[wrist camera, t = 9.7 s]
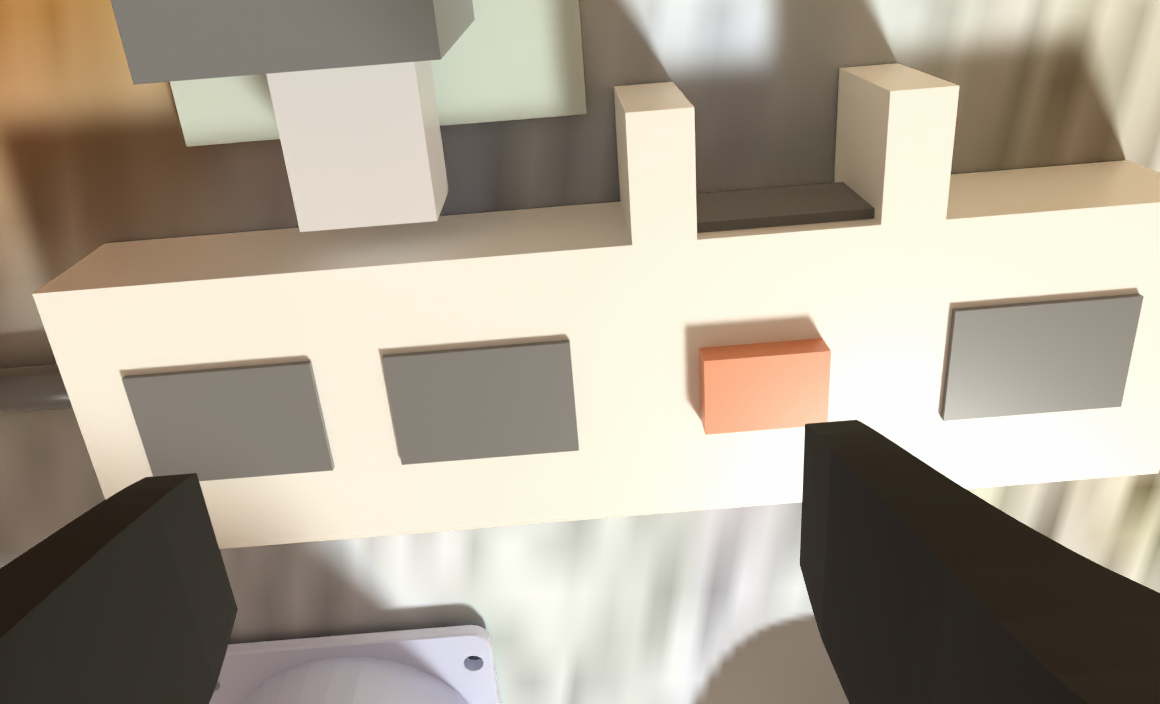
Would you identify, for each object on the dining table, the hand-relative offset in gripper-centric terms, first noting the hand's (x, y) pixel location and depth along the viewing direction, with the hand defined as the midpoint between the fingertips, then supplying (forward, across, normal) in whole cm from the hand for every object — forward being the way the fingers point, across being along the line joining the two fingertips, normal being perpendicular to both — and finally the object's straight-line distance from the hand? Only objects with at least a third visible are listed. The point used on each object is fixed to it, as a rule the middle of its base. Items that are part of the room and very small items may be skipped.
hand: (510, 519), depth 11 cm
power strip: (+10, +1, +1) cm, 10 cm away
